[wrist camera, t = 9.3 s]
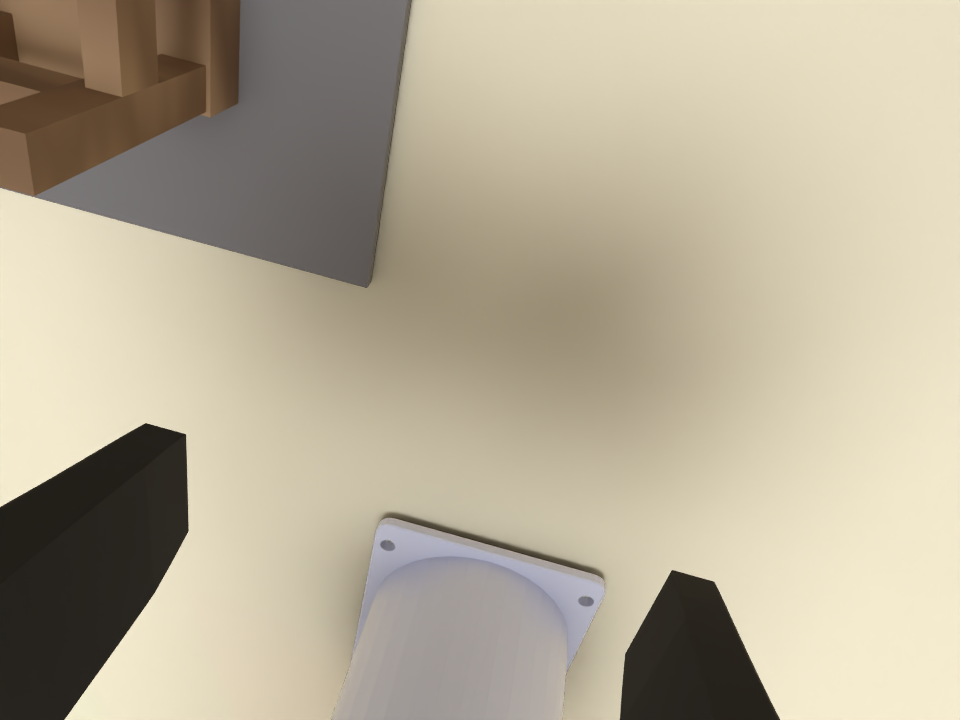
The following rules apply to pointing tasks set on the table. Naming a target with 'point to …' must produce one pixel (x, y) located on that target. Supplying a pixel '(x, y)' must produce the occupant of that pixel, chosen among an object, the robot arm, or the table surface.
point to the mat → (276, 144)
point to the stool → (106, 79)
